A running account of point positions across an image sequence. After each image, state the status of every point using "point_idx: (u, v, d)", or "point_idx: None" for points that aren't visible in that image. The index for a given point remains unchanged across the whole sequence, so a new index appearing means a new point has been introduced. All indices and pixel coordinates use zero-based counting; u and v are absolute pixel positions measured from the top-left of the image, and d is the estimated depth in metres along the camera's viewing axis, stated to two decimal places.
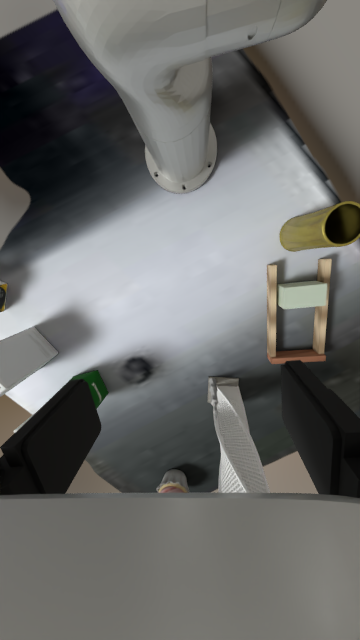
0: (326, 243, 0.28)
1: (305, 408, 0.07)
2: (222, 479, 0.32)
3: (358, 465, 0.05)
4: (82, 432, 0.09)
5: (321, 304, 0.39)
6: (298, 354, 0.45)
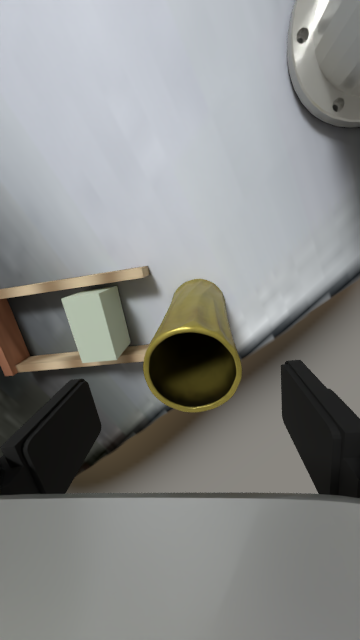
0: (151, 343, 0.12)
1: (305, 408, 0.07)
2: None
3: (358, 465, 0.05)
4: (82, 432, 0.09)
5: (82, 357, 0.23)
6: (6, 337, 0.26)
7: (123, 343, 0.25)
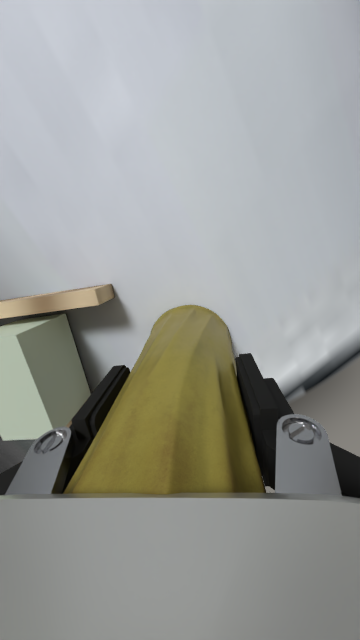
0: None
1: (244, 393, 0.08)
2: None
3: (271, 435, 0.06)
4: None
5: (1, 432, 0.14)
6: None
7: (74, 402, 0.16)
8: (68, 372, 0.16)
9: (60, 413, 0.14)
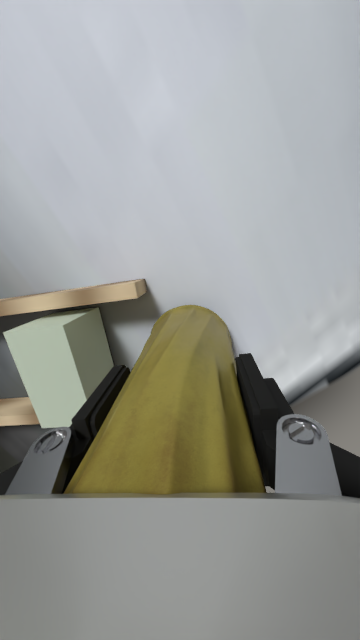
0: None
1: (244, 393, 0.08)
2: None
3: (271, 435, 0.06)
4: None
5: (41, 420, 0.15)
6: None
7: None
8: (102, 363, 0.16)
9: None
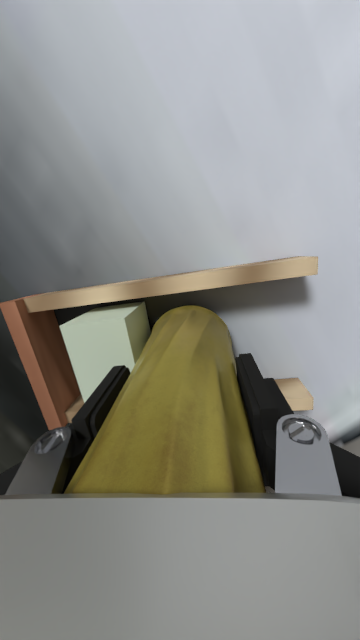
0: None
1: (244, 393, 0.08)
2: None
3: (271, 435, 0.06)
4: None
5: None
6: (52, 369, 0.17)
7: None
8: None
9: None
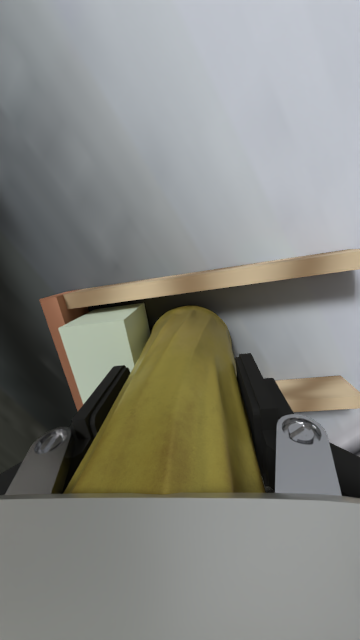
0: None
1: (244, 393, 0.08)
2: None
3: (271, 435, 0.06)
4: None
5: None
6: None
7: None
8: None
9: None
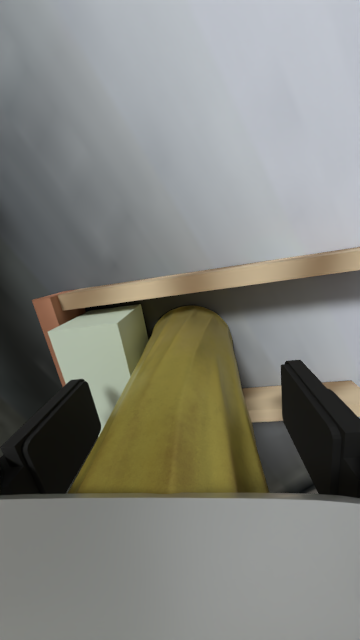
0: None
1: (305, 408, 0.07)
2: None
3: (358, 465, 0.05)
4: (82, 432, 0.09)
5: None
6: None
7: None
8: None
9: None
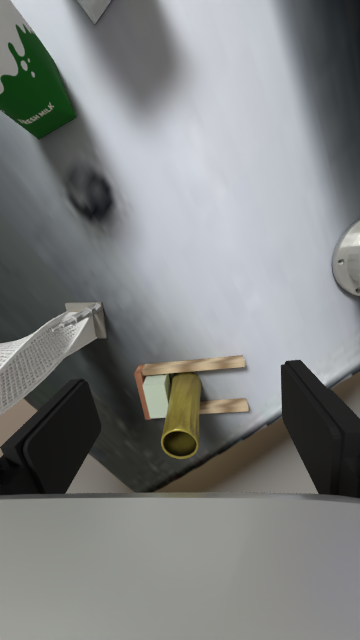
0: (163, 432, 0.30)
1: (305, 408, 0.07)
2: None
3: (358, 465, 0.05)
4: (82, 432, 0.09)
5: (150, 415, 0.40)
6: None
7: None
8: None
9: None
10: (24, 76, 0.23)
